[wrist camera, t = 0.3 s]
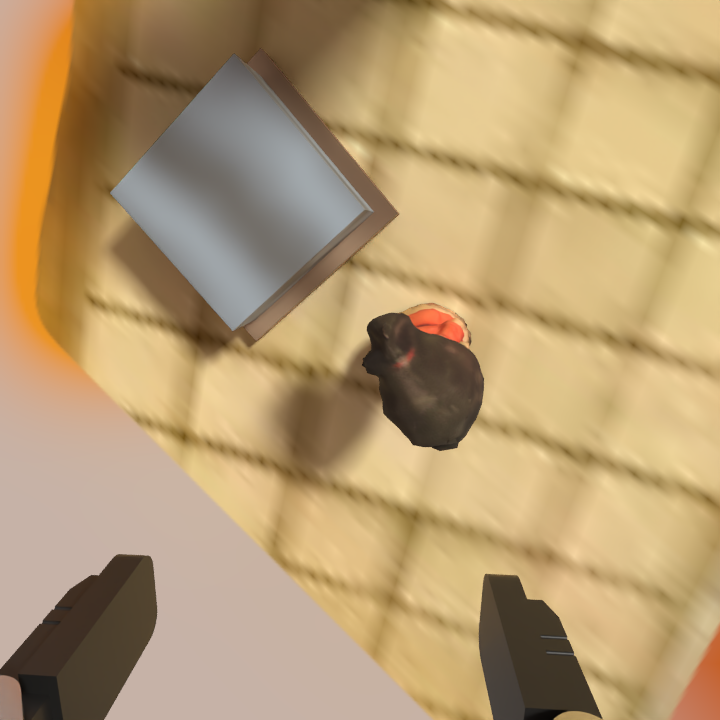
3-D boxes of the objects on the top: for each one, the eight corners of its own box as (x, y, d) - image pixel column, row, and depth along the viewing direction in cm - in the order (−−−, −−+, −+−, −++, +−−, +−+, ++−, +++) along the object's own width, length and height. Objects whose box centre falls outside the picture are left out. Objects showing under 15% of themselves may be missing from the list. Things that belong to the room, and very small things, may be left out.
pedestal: (267, 54, 31) (234, 21, 26) (399, 213, 32) (392, 211, 27) (138, 196, 34) (86, 191, 29) (261, 337, 35) (232, 355, 30)
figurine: (361, 362, 35) (321, 428, 23) (392, 282, 33) (368, 312, 22) (450, 399, 34) (455, 485, 23) (486, 320, 33) (512, 371, 21)
